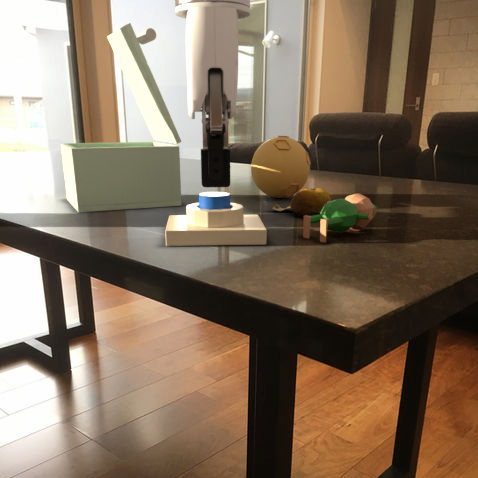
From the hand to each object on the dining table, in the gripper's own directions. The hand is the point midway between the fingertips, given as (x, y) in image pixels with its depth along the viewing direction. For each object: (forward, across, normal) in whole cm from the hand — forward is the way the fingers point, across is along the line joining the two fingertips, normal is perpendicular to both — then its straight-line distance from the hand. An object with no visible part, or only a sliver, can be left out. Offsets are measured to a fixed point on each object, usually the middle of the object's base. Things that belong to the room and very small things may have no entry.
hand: (215, 185), depth 59 cm
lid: (-11, -26, -10) cm, 30 cm away
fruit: (+6, -15, +14) cm, 21 cm away
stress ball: (+6, -29, +12) cm, 32 cm away
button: (+3, 0, 0) cm, 3 cm away
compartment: (+6, -25, -14) cm, 29 cm away
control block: (+6, 0, 0) cm, 6 cm away
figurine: (+6, -1, +16) cm, 17 cm away
